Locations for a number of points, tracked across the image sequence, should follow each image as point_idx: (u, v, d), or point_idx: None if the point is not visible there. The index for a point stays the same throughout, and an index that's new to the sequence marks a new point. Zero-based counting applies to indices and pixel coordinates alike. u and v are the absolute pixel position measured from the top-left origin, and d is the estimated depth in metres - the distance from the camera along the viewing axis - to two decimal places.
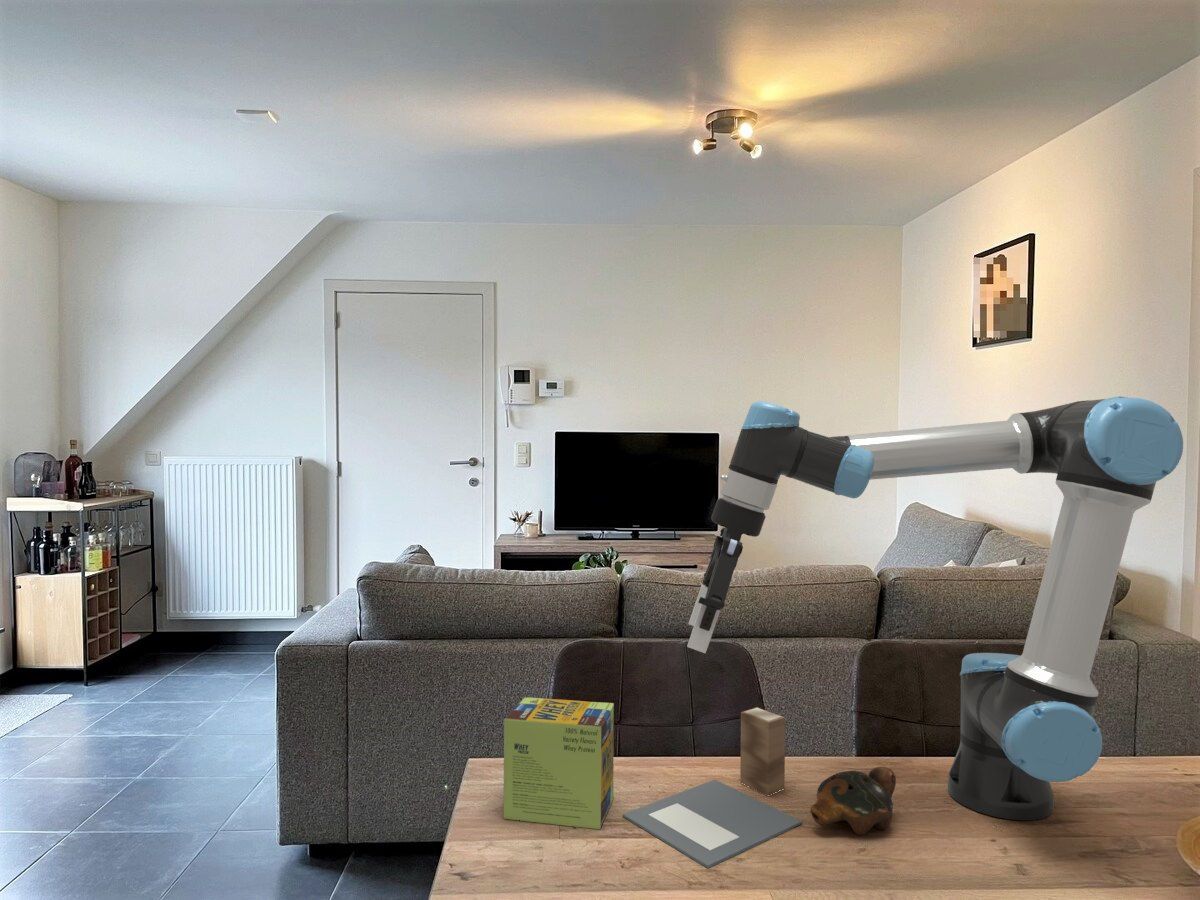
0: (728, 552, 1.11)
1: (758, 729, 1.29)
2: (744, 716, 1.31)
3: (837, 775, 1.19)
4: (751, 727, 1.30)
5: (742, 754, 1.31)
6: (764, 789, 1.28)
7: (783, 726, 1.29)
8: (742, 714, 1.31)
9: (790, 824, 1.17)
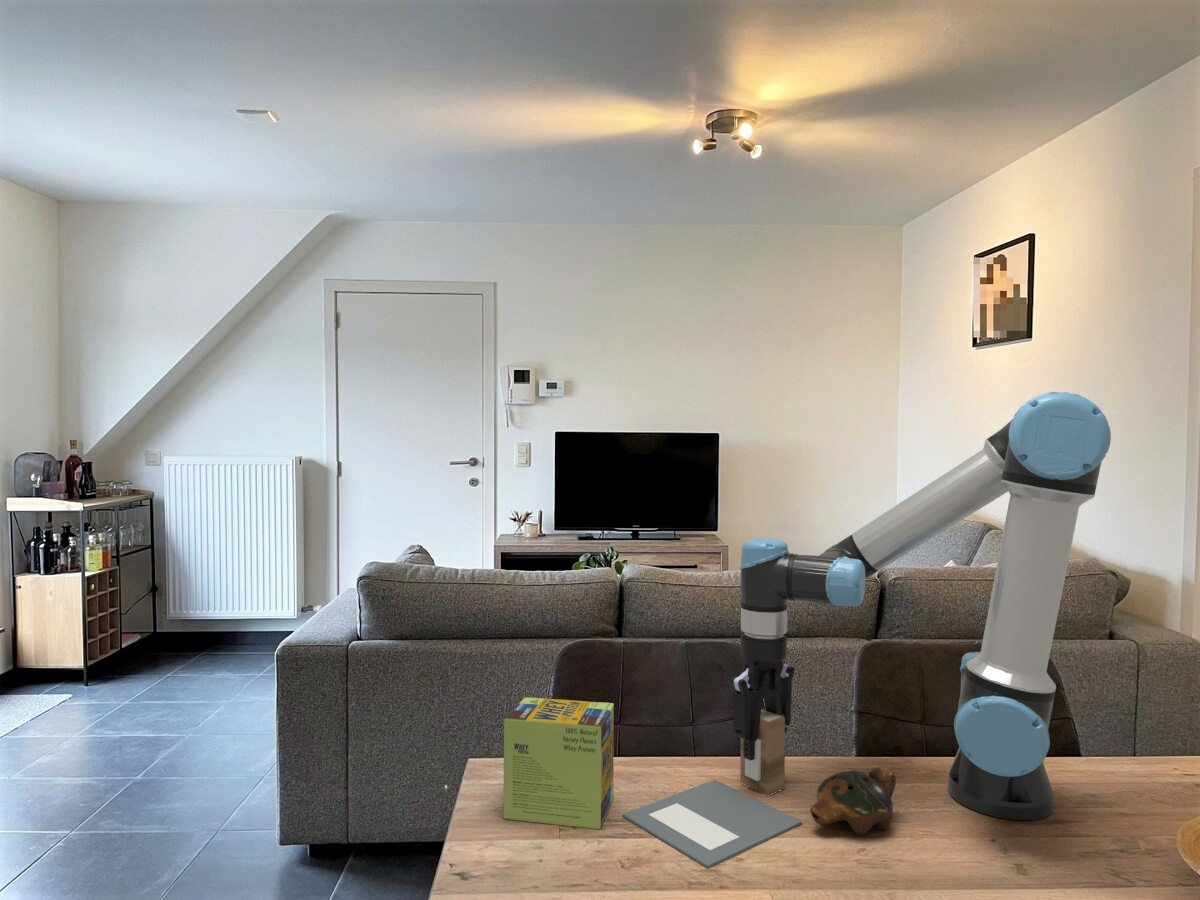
0: (737, 690, 1.27)
1: (758, 729, 1.29)
2: None
3: (837, 775, 1.19)
4: None
5: (742, 754, 1.31)
6: (764, 789, 1.28)
7: (783, 726, 1.29)
8: None
9: (790, 824, 1.17)
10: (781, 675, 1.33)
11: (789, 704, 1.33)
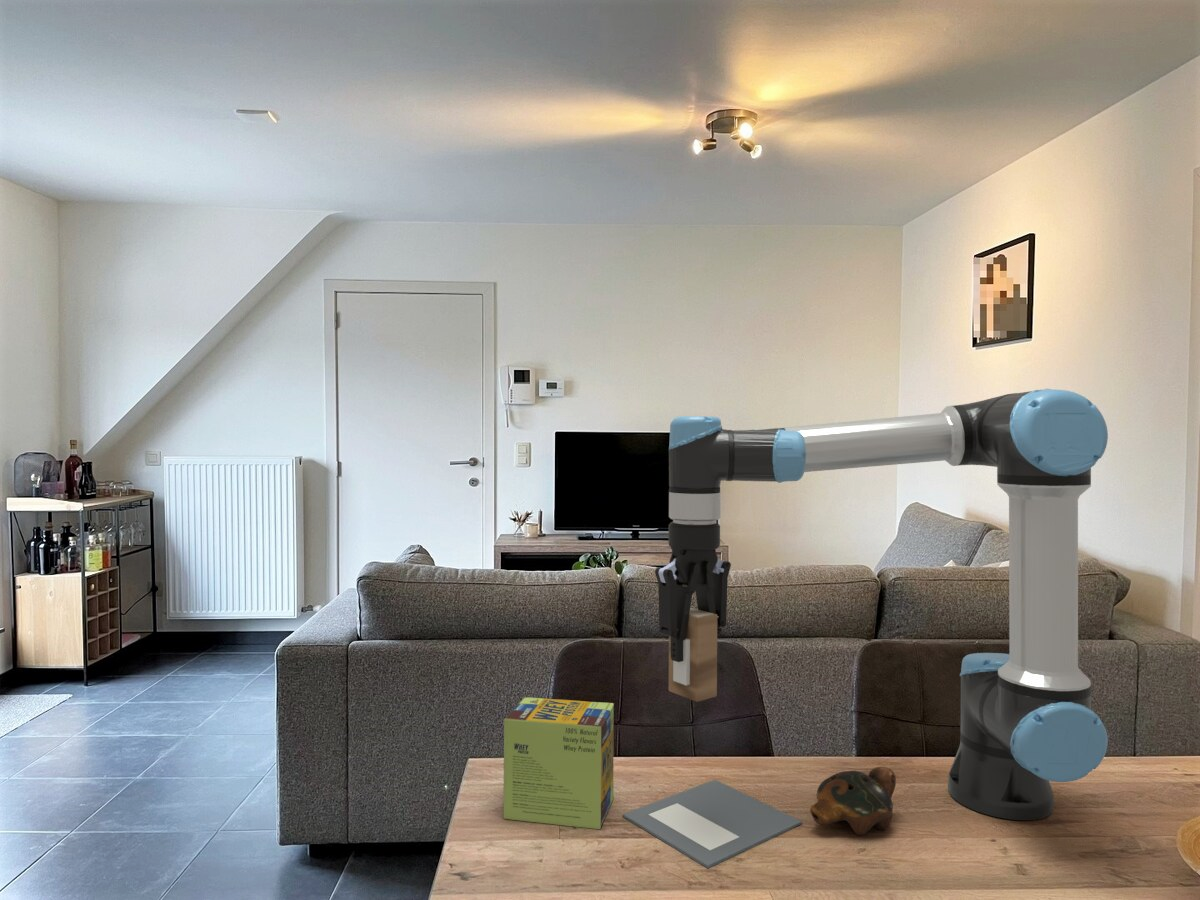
0: (662, 582, 1.12)
1: (687, 627, 1.14)
2: None
3: (837, 775, 1.19)
4: None
5: (670, 657, 1.17)
6: (693, 694, 1.13)
7: (715, 624, 1.15)
8: None
9: (790, 824, 1.17)
10: (716, 570, 1.18)
11: (724, 603, 1.18)
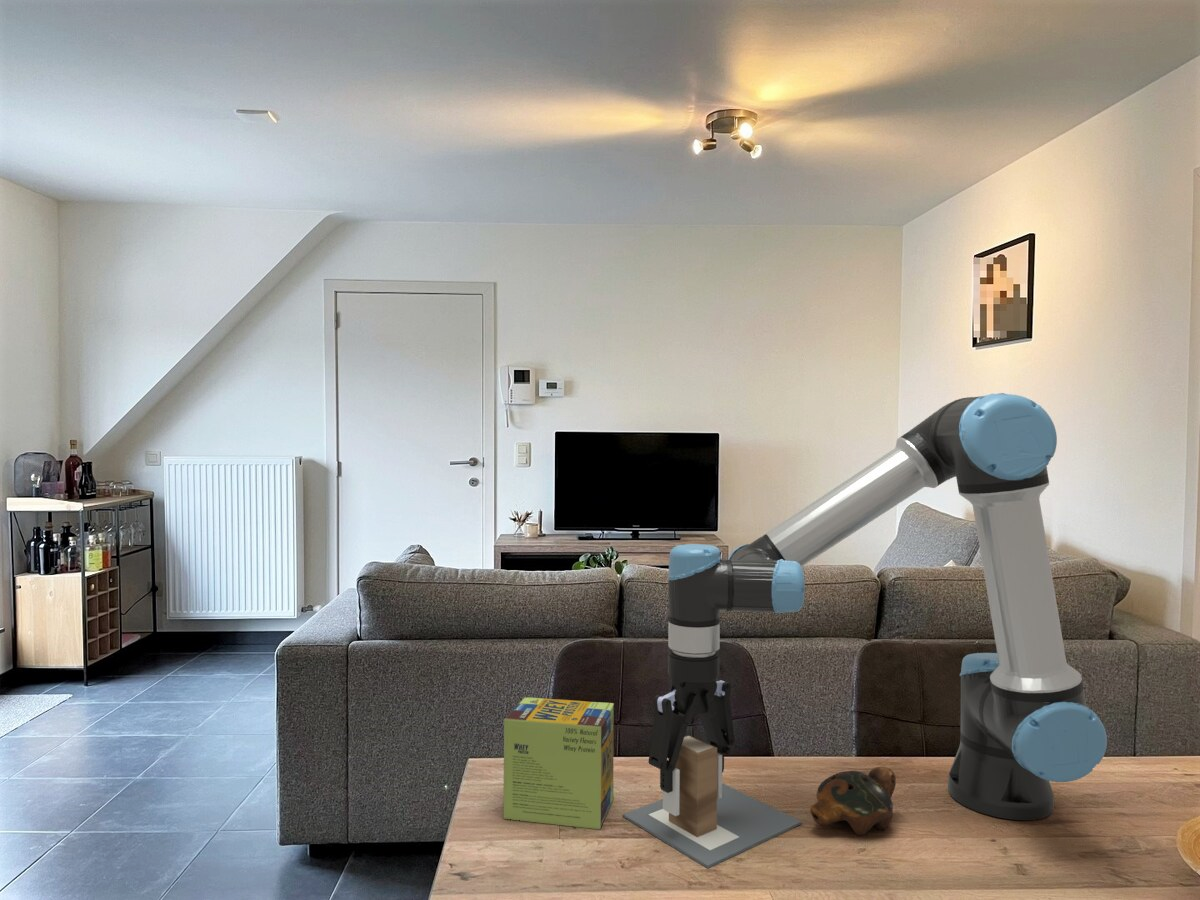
0: (659, 711, 1.13)
1: (687, 761, 1.15)
2: None
3: (837, 775, 1.19)
4: (679, 759, 1.16)
5: None
6: (693, 829, 1.14)
7: (715, 758, 1.15)
8: None
9: (790, 824, 1.17)
10: (717, 694, 1.19)
11: (730, 723, 1.20)
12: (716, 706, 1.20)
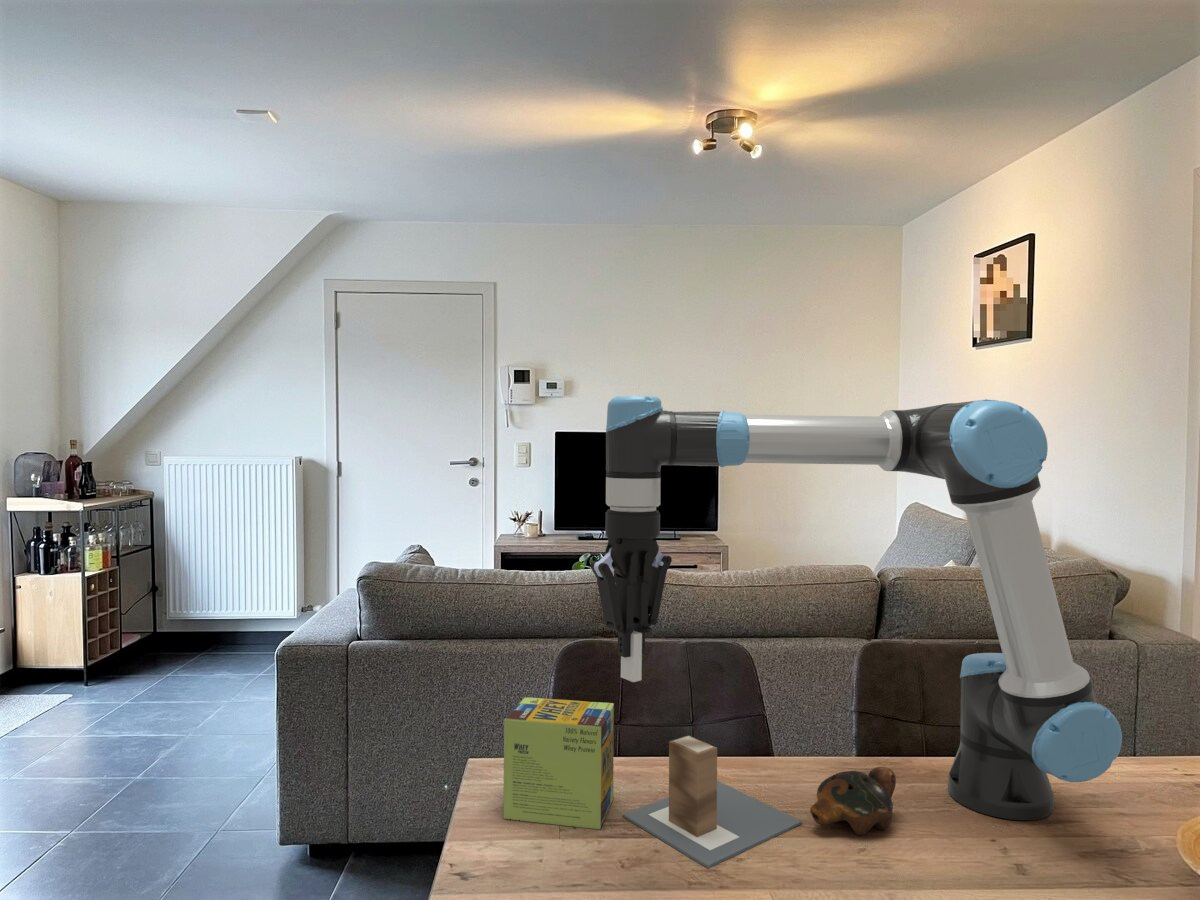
0: (600, 576, 1.06)
1: (687, 761, 1.15)
2: (672, 746, 1.17)
3: (837, 775, 1.19)
4: (679, 759, 1.16)
5: (670, 788, 1.18)
6: (693, 829, 1.14)
7: (715, 758, 1.15)
8: (670, 744, 1.17)
9: (790, 824, 1.17)
10: (654, 563, 1.11)
11: (659, 600, 1.10)
12: (649, 579, 1.12)
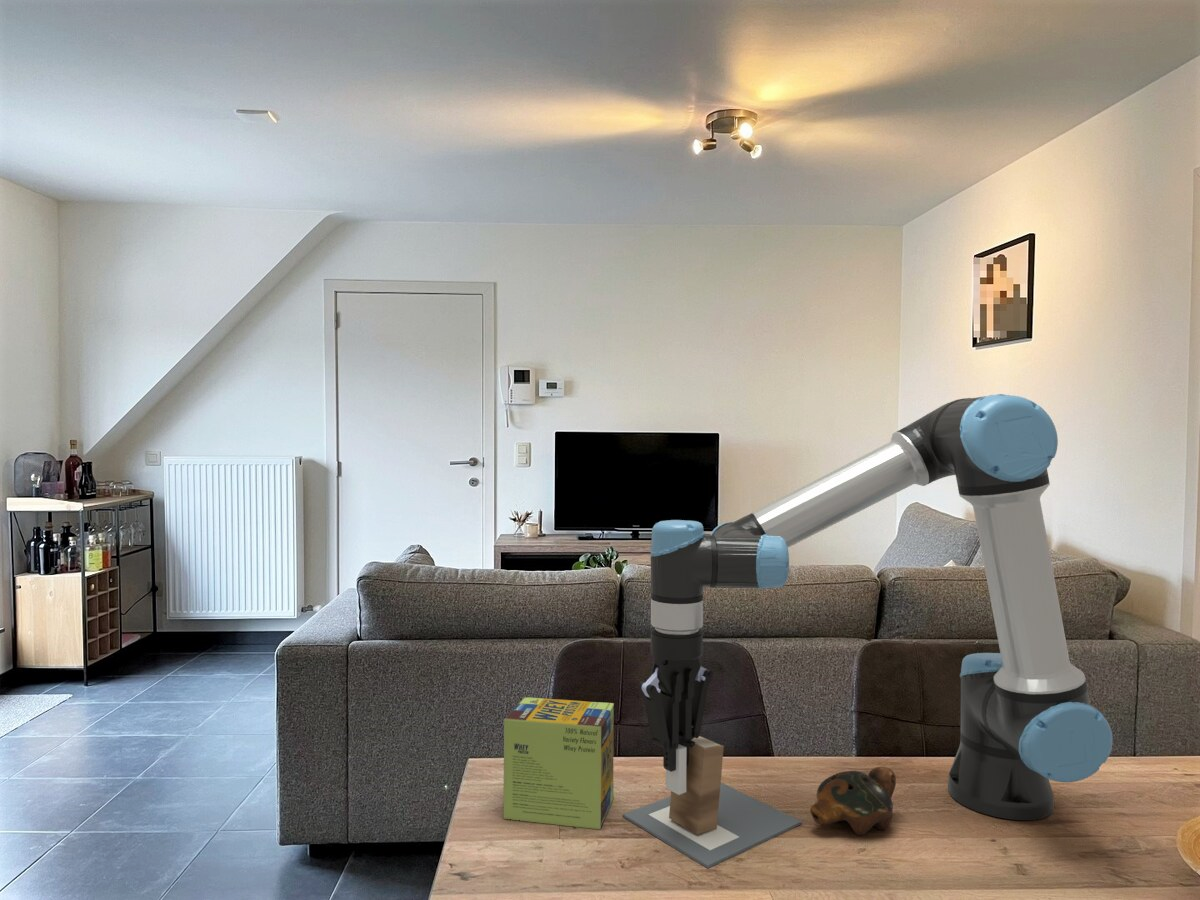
0: (647, 696, 1.11)
1: (693, 756, 1.15)
2: None
3: (837, 775, 1.19)
4: None
5: None
6: (693, 825, 1.14)
7: (721, 756, 1.16)
8: None
9: (790, 824, 1.17)
10: (697, 678, 1.16)
11: (701, 713, 1.16)
12: None
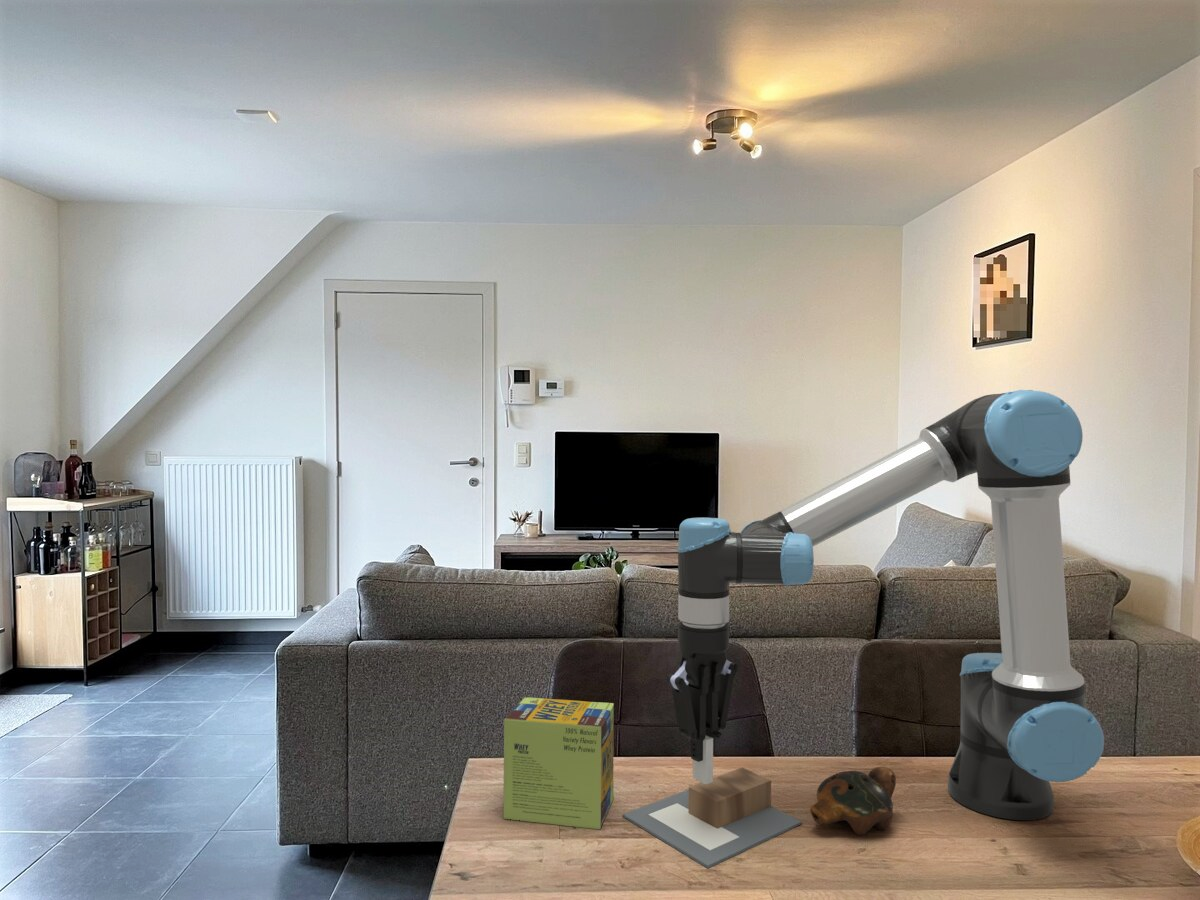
0: (675, 688, 1.14)
1: (753, 778, 1.24)
2: (743, 769, 1.27)
3: (837, 775, 1.19)
4: (745, 775, 1.25)
5: (713, 779, 1.23)
6: (717, 798, 1.17)
7: (764, 806, 1.22)
8: (742, 768, 1.27)
9: (790, 824, 1.17)
10: (722, 671, 1.20)
11: (727, 705, 1.19)
12: None
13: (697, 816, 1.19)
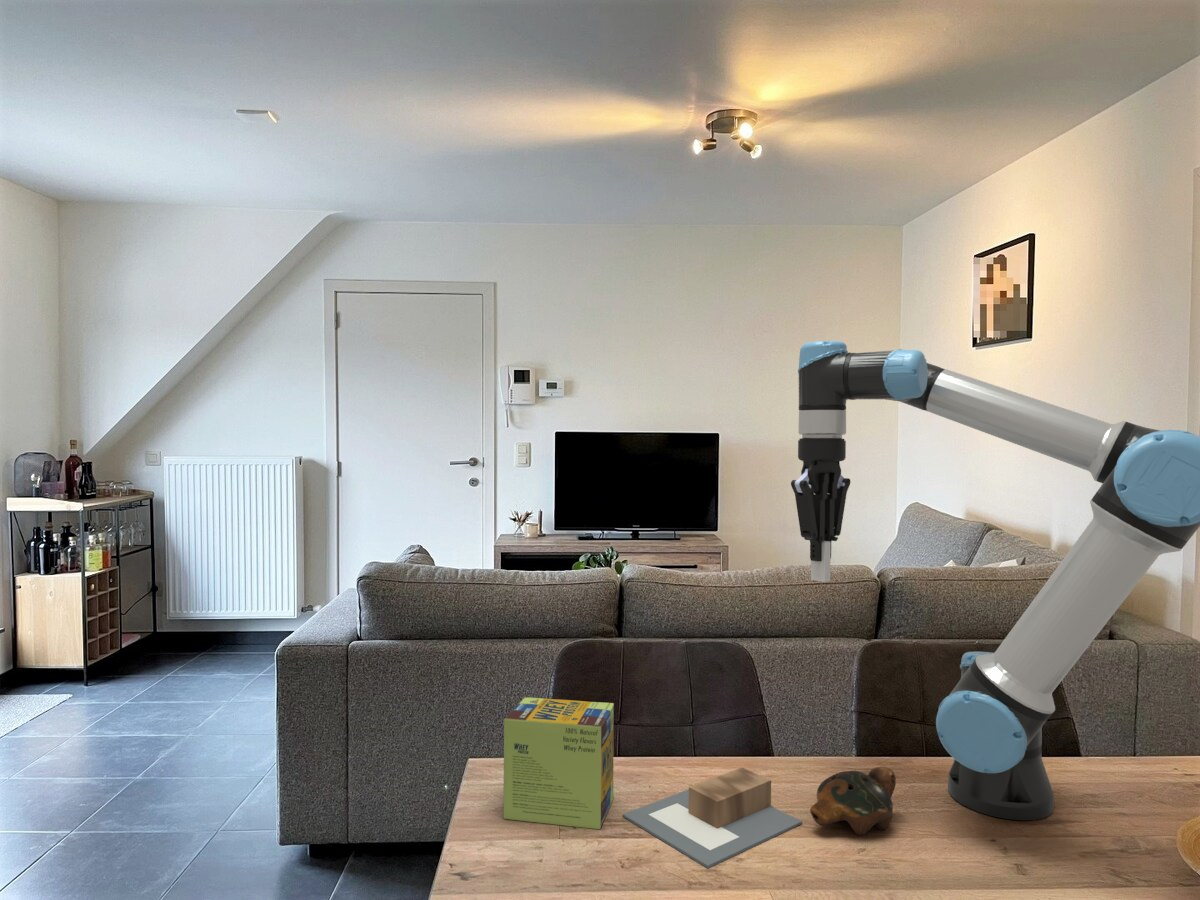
0: (799, 492, 1.26)
1: (753, 778, 1.24)
2: (743, 769, 1.27)
3: (837, 775, 1.19)
4: (745, 775, 1.25)
5: (713, 779, 1.23)
6: (717, 798, 1.17)
7: (764, 806, 1.22)
8: (742, 768, 1.27)
9: (790, 824, 1.17)
10: (837, 484, 1.31)
11: (841, 514, 1.31)
12: None
13: (697, 816, 1.19)
